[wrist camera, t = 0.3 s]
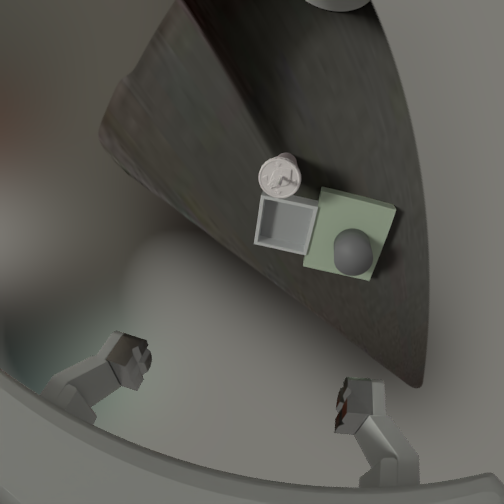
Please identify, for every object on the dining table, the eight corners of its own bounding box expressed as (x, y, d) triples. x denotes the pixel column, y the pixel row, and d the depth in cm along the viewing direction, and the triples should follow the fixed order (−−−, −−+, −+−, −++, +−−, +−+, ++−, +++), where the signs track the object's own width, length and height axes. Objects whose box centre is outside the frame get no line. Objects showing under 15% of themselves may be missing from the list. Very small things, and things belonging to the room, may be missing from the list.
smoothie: (311, 165, 51) (308, 192, 40) (284, 186, 54) (273, 219, 43) (287, 137, 50) (276, 156, 38) (261, 160, 53) (242, 185, 41)
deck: (266, 174, 54) (258, 188, 48) (393, 204, 51) (402, 222, 45) (255, 248, 63) (247, 269, 57) (368, 273, 60) (371, 296, 54)
